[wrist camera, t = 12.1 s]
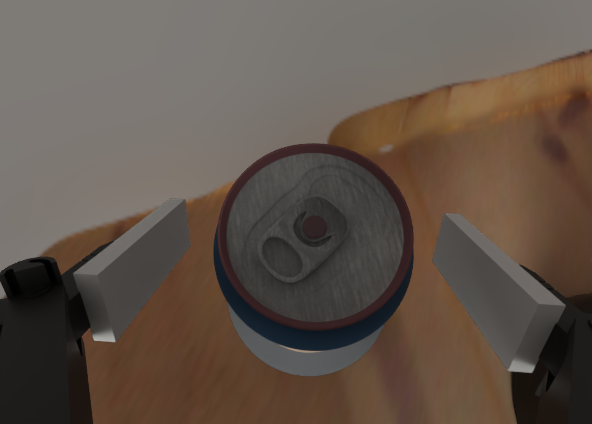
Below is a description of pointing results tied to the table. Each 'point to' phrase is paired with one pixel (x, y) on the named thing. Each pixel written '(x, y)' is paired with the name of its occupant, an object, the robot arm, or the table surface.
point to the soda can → (314, 247)
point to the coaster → (301, 352)
